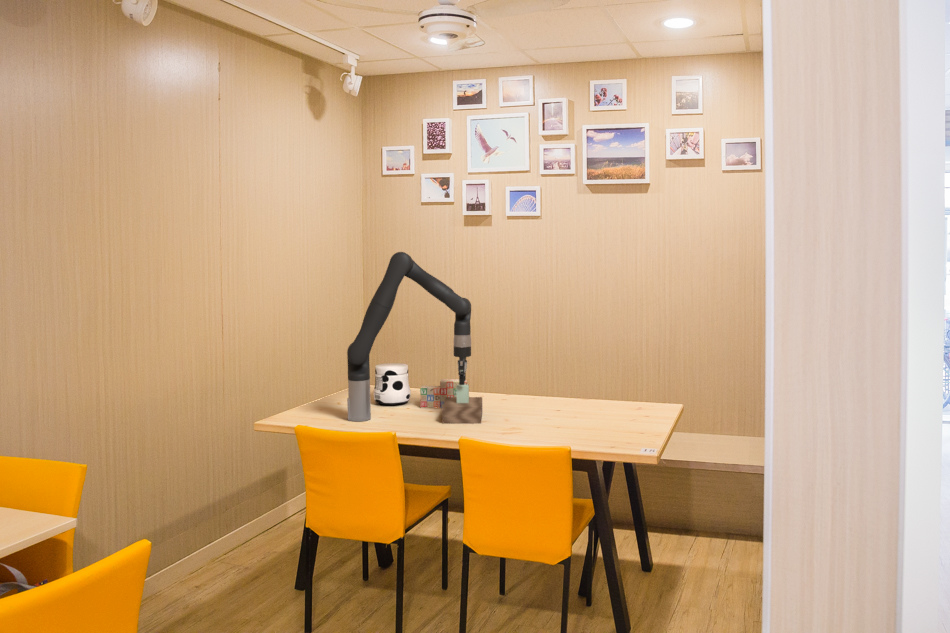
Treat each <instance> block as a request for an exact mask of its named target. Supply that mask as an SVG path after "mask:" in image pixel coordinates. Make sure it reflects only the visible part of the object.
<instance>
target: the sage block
mask: <svg viewBox="0 0 950 633" xmlns="http://www.w3.org/2000/svg"><path fill="white" fill-rule="evenodd" d="M456 391H457V403H469V397H470V386H469V384H467V385H457V387H456Z"/></svg>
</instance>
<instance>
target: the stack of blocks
mask: <svg viewBox="0 0 950 633" xmlns="http://www.w3.org/2000/svg"><path fill="white" fill-rule="evenodd" d="M457 385H459V378H455V379H454V378H453V379H443V378H441V379H440V381H439V385H421V386H420V391H419V392H420V408H421V407H437V408H436V409H442V406H443V404H444V401H445V398H446V397H457V391H456V387H457ZM464 385H468V379H466V381H465V384H464ZM438 407H439V408H438Z"/></svg>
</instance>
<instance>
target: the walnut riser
mask: <svg viewBox="0 0 950 633" xmlns="http://www.w3.org/2000/svg"><path fill="white" fill-rule="evenodd" d="M441 411H442V413H441V414H442V415H441V416H442V418H441V419H442V424H482V419H483V418H482V417H483V397H482V396H474V397H473V396H469V403H457V397H446V398H445V401H444V404H443V406H442V408H441Z"/></svg>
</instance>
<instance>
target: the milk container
mask: <svg viewBox="0 0 950 633" xmlns="http://www.w3.org/2000/svg"><path fill="white" fill-rule="evenodd" d="M374 368H375V369H374V372H375V373H374V379H375V380H374V382H375V384H374V389H373V399H374V401H375V403H377V404H380V405H383V406H394V405H395V406H397V405H402V404H405V403H408V402H409V401H410V399H411V395H412V394H411V393H412V392H411V391H412V390H411V388H410V384H409V383H410V382H409V366H408V364H407V363H402V362H389V363H387V362H385V363H379V364H376V365H375V367H374Z"/></svg>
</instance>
